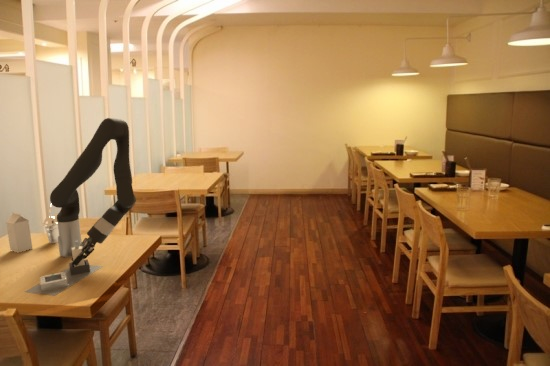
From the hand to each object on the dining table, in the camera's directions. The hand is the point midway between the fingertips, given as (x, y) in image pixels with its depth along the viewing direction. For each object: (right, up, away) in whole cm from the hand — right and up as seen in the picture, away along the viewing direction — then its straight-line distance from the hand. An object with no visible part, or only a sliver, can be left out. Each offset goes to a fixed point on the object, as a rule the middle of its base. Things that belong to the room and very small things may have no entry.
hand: (73, 262), depth 178 cm
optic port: (-2, -7, -12) cm, 14 cm away
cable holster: (+2, -4, +2) cm, 4 cm away
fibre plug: (+2, -4, +2) cm, 4 cm away
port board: (0, -7, -5) cm, 9 cm away
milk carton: (-42, 0, +33) cm, 53 cm away
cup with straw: (-31, +2, +44) cm, 54 cm away
